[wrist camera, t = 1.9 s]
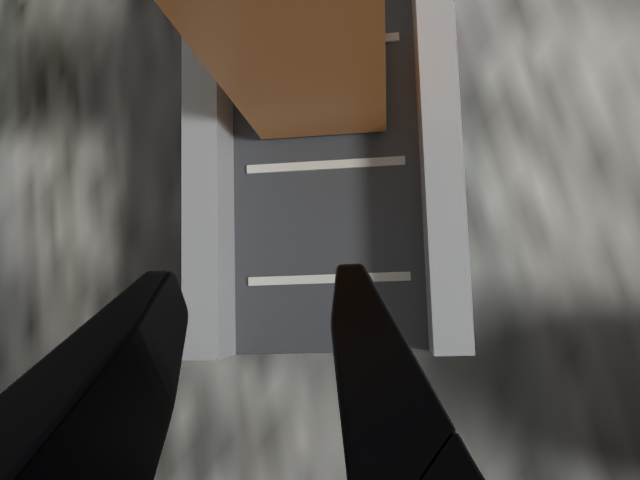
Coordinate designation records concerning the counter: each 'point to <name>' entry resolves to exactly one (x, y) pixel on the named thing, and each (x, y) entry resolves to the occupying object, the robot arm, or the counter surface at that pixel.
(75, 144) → the counter surface
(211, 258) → the fader console
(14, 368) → the counter surface
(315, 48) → the fader knob
